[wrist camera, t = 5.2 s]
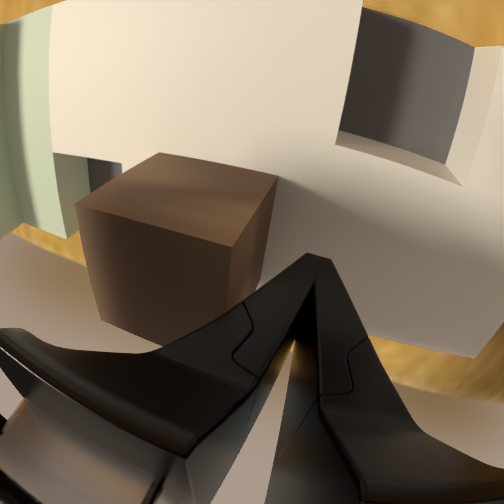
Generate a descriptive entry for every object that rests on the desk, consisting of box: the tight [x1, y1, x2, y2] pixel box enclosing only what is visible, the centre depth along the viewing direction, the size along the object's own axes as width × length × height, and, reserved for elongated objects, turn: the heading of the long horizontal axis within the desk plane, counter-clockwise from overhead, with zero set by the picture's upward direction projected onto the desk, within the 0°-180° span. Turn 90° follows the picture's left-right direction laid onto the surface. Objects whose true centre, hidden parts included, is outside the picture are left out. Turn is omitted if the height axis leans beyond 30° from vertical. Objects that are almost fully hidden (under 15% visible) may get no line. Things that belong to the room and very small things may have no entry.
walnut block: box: [75, 152, 278, 346], centre depth 9 cm, size 4×4×4 cm
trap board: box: [0, 0, 504, 359], centre depth 10 cm, size 24×11×4 cm, turn 82°
